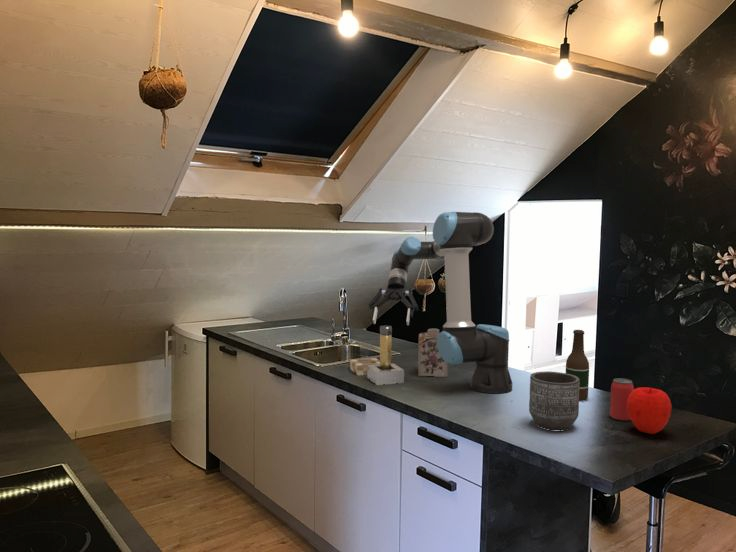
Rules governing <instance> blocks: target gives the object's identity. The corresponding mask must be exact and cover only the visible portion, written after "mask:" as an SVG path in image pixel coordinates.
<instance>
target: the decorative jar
mask: <svg viewBox="0 0 736 552" xmlns="http://www.w3.org/2000/svg"><path fill="white" fill-rule="evenodd" d="M439 333H440V329H438V328H428V329H427V331H426V332H421V333H418V341H417V342H418V343H417V344H418V348H417V351H418V353H417V355H418V357H417V358H418V360H417V361H418V362H417V363H418V364H417V365H418V366H417V369H418V371H417V373H418V374H417V375H418V377H427V376H434V377H435V378H447V377H448V367H449V366H448V364H449V363H447V362H445V361H444V360H443V359H442V357H441V356H440V354H439V351H438V347H437V338H438V335H439Z"/></svg>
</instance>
